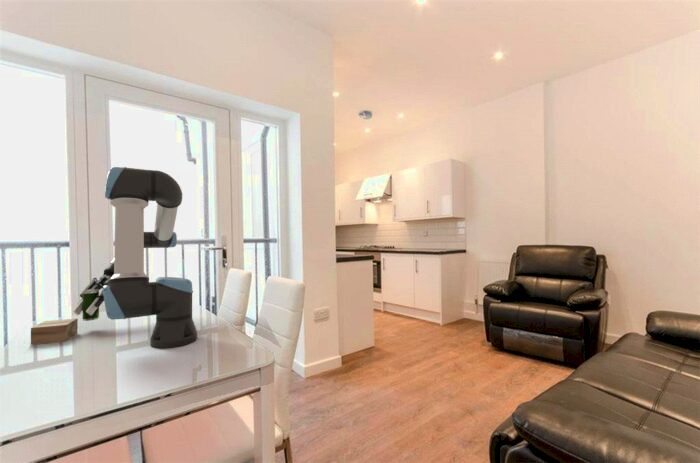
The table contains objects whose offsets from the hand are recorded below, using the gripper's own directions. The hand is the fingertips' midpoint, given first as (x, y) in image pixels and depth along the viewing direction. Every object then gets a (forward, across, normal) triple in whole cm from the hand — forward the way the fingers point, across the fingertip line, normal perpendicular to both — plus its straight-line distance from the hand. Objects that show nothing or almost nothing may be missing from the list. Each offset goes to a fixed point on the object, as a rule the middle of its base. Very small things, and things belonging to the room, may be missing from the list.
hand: (82, 313), depth 129 cm
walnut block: (+11, +2, 0) cm, 12 cm away
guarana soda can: (0, 0, -5) cm, 5 cm away
